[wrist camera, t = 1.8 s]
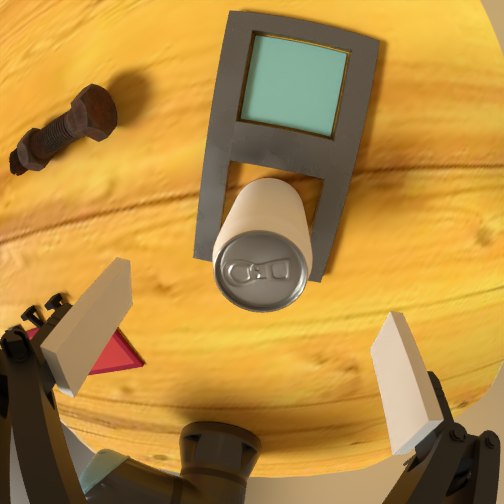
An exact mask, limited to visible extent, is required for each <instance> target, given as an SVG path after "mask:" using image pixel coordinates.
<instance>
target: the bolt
mask: <svg viewBox="0 0 504 504" xmlns="http://www.w3.org/2000/svg"><path fill="white" fill-rule="evenodd" d="M71 107H72V108H71V109H70V110H69V111H67V112H66V113H64V114H63V115H61V116H60V117H58V118H57V119H55V120H54V121H52V122H51V123H50V124H48V125H47V126H45V127H44V128H42V129H37V128H32V129H31V130H29V131H28V132H27V133H26V134H25V135H24V136H23V138H22V139H21V140H20V141H19V143H18V145H17V148H16V149H15V150H14V151H13V152H11V154H10V158H9V162H10V171H11V173H12V174H14V175H15V174H16V175H17V176H19V175H22V174H23V173H25V172H26V171H27V170H33V171H40V170H42V169H43V168H45V167H46V165H47V164H48V163H49V161H50V160H51V158H52V156H53V154H54V153H55V152H57V151H58V150H60V149H62V148H64V147H65V146H67V145H69V144H70V143H72V142H74V141H76V140H77V139H79V138H81V137H84V136H88V137H90V138H92V139H94V140H96V141H98V142H100V141H102V140H104V139H106V138H108V136H109V135H110V134H111V133H112V132H113V130H114V129H115V127H116V125H117V111H116V108H115V104H114V102H113V100H112V98H111V96H110V95H109V94H108V92H107V91H106V90H105V89H104V88H102V87H100V86H98V85H95V84H90V85H89V86H87V87H85V88H84V89H83V90H82V91H81V92H80V93H79V94H78V95H77V96H76V98H75V99H74V100H73V101H72V102H71Z"/></svg>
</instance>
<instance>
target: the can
mask: <svg viewBox="0 0 504 504" xmlns="http://www.w3.org/2000/svg"><path fill="white" fill-rule="evenodd" d="M213 267H214V278H215V282H216V284H217V286H218V288H219V290H220V291H221V293H222V294H223V295H224V296H225V298H226V299H228V300H229V301H230V302H231V303H233V304H234V305H236V306H238V307H240V308H242V309H245V310H248V311H252V312H261V313H264V312H273V311H277V310H280V309H283V308H285V307H287V306H289V305H290V304H292V303H293V302H294V301H295V300H296V299H297V298H298V297H299V296H300V295H301V293H302V292H303V290H304V288H305V286H306V283H307V280H308V278H309V275H310V273H311V269H312V248H311V242H310V237H309V231H308V226H307V221H306V216H305V211H304V207H303V203H302V200H301V198H300V196H299V194H298V193H297V191H296V190H295V189H294V188H293V187H292V186H291V185H289V184H288V183H286V182H284V181H282V180H279V179H275V178H262V179H258V180H255V181H253V182H251V183H249V184H248V185H247V186H245V187H244V188H243V189H242V191H241V192H240V193H239V195H238V197H237V198H236V200H235V202H234V204H233V206H232V208H231V210H230V212H229V214H228V216H227V218H226V220H225V222H224V224H223V226H222V228H221V230H220V233H219V235H218V237H217V239H216V242H215V245H214V249H213Z"/></svg>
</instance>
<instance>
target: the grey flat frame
mask: <svg viewBox="0 0 504 504" xmlns="http://www.w3.org/2000/svg"><path fill="white" fill-rule="evenodd" d="M253 33H256V34H263V35H270V36H277V37H283V38H288V39H294V40H299V41H304V42H309V43H313V44H318V45H322V46H326V47H330V48H334V49H338V50H342V51H345V52H349V57H348V63H347V68H346V74H345V79H344V84H343V89H342V94H341V99H340V104H339V109H338V114H337V119H336V123H335V128H334V133H333V137H332V140H331V139H327V138H323V137H318V136H314V135H310V134H305V133H301V132H296V131H291V130H286V129H281V128H276V127H271V126H265V125H260V124H254V123H248V122H241V121H238V115H239V109H240V104H241V98H242V92H243V87H244V81H245V76H246V70H247V65H248V59H249V54H250V49H251V44H252V39H253ZM379 43H380V41H378V40H375V39H372V38H369V37H366V36H363V35H360V34H356V33H353V32H350V31H346V30H342V29H339V28H335V27H331V26H327V25H323V24H318V23H314V22H309V21H304V20H299V19H294V18H288V17H282V16H275V15H269V14H261V13H252V12H242V11H229V15H228V20H227V25H226V30H225V35H224V40H223V45H222V50H221V55H220V61H219V66H218V72H217V77H216V83H215V89H214V95H213V101H212V107H211V114H210V120H209V127H208V134H207V141H206V148H205V155H204V163H203V171H202V179H201V187H200V196H199V205H198V214H197V224H196V234H195V244H194V256H193V258H196V259H201V260H206V261H211V262H213V249H214V245H215V242H216V239H217V237H218V235H219V233H220V230H221V226H222V219H223V212H224V205H225V198H226V191H227V184H228V178H229V171H230V165H231V161H237V162H242V163H248V164H254V165H259V166H265V167H270V168H275V169H280V170H285V171H290V172H295V173H299V174H304V175H309V176H313V177H317V178H322V179H323V181H322V185H321V189H320V193H319V197H318V201H317V205H316V209H315V213H314V217H313V221H312V225H311V229H310V232H309V237H310V242H311V248H312V269H311V273H310V275H309V278H308V280H309V281H314V282H320V283H321V280H322V276H323V273H324V270H325V267H326V264H327V261H328V258H329V254H330V251H331V248H332V245H333V241H334V238H335V235H336V231H337V228H338V224H339V221H340V217H341V214H342V210H343V207H344V203H345V199H346V196H347V192H348V188H349V185H350V181H351V177H352V173H353V169H354V165H355V161H356V157H357V153H358V149H359V144H360V140H361V136H362V131H363V127H364V122H365V118H366V113H367V108H368V103H369V98H370V93H371V88H372V83H373V78H374V72H375V67H376V61H377V55H378V49H379Z"/></svg>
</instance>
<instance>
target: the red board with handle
mask: <svg viewBox="0 0 504 504" xmlns="http://www.w3.org/2000/svg"><path fill="white" fill-rule="evenodd" d="M61 300H62V297H61V295H60V294H59V293H58V294H56V295H54V296H52V297H51V298H50V300H49V301H48V302H47V303H46V304H45V305H44V306H45V307H46V309H47V310H50V309H54V310H55V311H56V309H57V308H59V307H61V306H62V305H61V304H60V303H59V302H60V301H61ZM35 311H36V309H35V307H34V306H31V307H29V308H28V309H27V310H26V311H25V312H24V313H23V314H22V315H21V318H22V319H23V321H25V320H29V321H31V322H32V323H33V324H34V325H35V326H36V327H37V328H34V329H31V330H29V331H26V333H27V334H28V336H29V339H30V340H31V339H32V337H33V336H34V335H35V334H36V333H37V331H38V330H39V329H40V328H41V327H42V325H43V324H44V323H43V322H41V321H40V320H39V319H38V318H37V317H36V316H35V315H33V313H34V312H35ZM12 329H19V328H18V327H17V326H15V327H13V328H11V329H9V330H12ZM9 330H6V331H5V332H7V331H9ZM143 365H144V363H143V362H142V361H141V359H140V358H139V357H138V356H137V355H136V353H135V352H134V351H133V350H132V348H131V347H130V346H129V345H128V343H127V342H126V341H125V340H124V338H123V337H122V336H121V334H120V333H119V332H118V330H117V329H116V331H115V332H114V334H113V335H112V337H111V338H110V340H109V342H108V343H107V345H106V346H105V348H104V349H103V351H102V353H101V354H100V356H99V358H98V359H97V361H96V362H95V364H94V366H93V367H92V369H91V371H90V372H89V374H88V375H93V374H101V373H107V372H114V371H120V370H126V369H132V368H138V367H143Z"/></svg>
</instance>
